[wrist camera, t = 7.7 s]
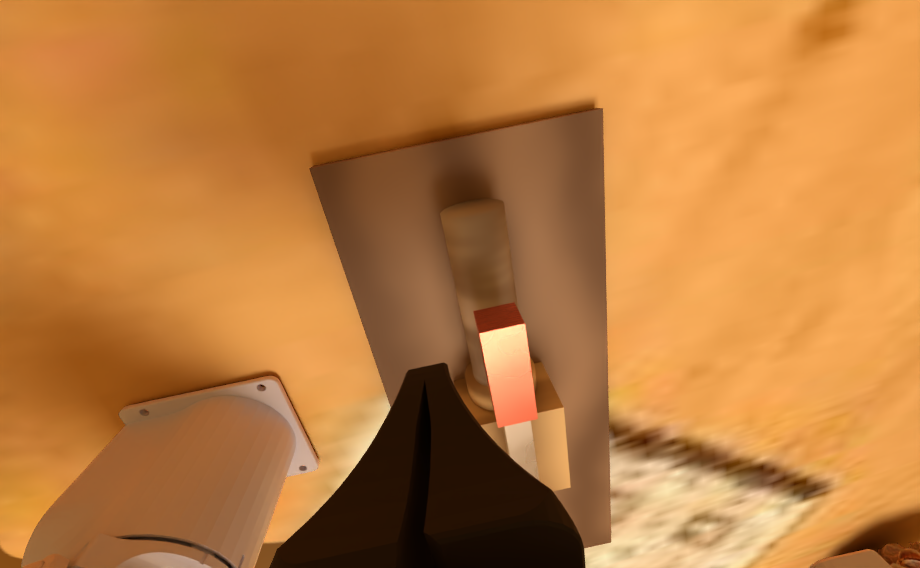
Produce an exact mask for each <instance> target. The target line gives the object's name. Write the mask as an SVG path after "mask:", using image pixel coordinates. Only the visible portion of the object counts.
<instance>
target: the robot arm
mask: <svg viewBox="0 0 920 568" xmlns="http://www.w3.org/2000/svg"><path fill="white" fill-rule="evenodd" d="M259 384H262V385H264V386H265V387H262V386H260V385H259ZM146 410H147V411H146ZM119 417H120V419H121V420H122V421H123V423H124V424H125V426H124V427H123V428H122V429H121V431H120V432H119V433H118V434H117V435H116V436H115V437H114V438H113V439H112V440H111V442H110V443H109V444H108V445H107V446H106V447H105V448H104V449H103V450H102V451H101V452H100V454H99V455H98V456H97V457H96V458H95V459H94V460H93V461H92V462H91V463H90V464H89V466H88V467H87V468H86V469H85V470H84V471H83V472H82V473H81V474H80V475H79V476H78V478H77V479H76V480H75V481H74V482H73V483H72V484H71V485H70V486H69V487H68V489H67V490H66V491H65V492H64V493H63V494H62V495H61V496H60V497H59V498H58V499H57V501H56V502H55V503H54V504H53V505H52V506H51V507H50V508H49V509H48V511H47V512H46V513H45V514H44V516H43V517H42V518H41V520H40V521H39V523H38V524H37V526H36V528H35V529H34V531H33V533H32V535H31V537H30V540H29V542H28V544H27V547H26V550H25V553H24V556H23V560H22V565H21V568H254V567H255V564H256V561H257V558H258V555H259V552H260V550H261V547H262V544H263V541H264V538H265V536H266V533H267V530H268V527H269V524H270V521H271V519H272V516H273V513H274V510H275V507H276V504H277V502H278V499H279V496H280V493H281V490H282V487H283V485H284V482H285V479H286V477H288V476H293V475H298V474H302V473H307V472H312V471H315V470H316V469H317V468H318V465H319V460H318V458H317V456H316V454H315V452H314V450H313V448H312V446H311V444H310V442H309V440H308V438H307V436H306V434H305V431H304V429H303V427H302V425H301V423H300V421H299V419H298V417H297V415H296V413H295V411H294V409H293V407H292V405H291V403H290V401H289V399H288V397H287V395H286V392H285V390H284V388H283V386H282V384H281V382H280V380H279V379H278V378H277V377H275V376H266V377H261V378H256V379H251V380H247V381H242V382H237V383H233V384H228V385H223V386H218V387H214V388H209V389H204V390H199V391H195V392H190V393H185V394H181V395H176V396H171V397H166V398H162V399H157V400H152V401H148V402H143V403H138V404H133V405H129V406H125V407H124V408H123V409H122V410H121V411H120V412H119ZM269 568H585V555H584V545H583V542H582V538H581V536H580V534H579V532H578V530H577V528H576V526H575V524H574V522H573V520H572V519H571V517H570V515H569V514H568V512H567V511H566V509H565V508H564V506H563V505H562V503H561V502H560V500H559V499H558V498H557V496H556V495H555V493H554V492H553V491H552V490H551V489H550V488H549V487H547V486H546V485H544V484H543V483H542V482H540V481H539V480H538V479H536V478H535V477H534V476H532V475H531V474H530V473H528V472H527V471H526V470H525V469H524V468H522V467H521V466H520V465H519V464H518V463H516V462H515V461H514V460H513V459H512V458H511V457H510V456H509V455H508V454H507V453H506V452H505V451H504V450H503V449H502V448H500V447H499V446H498V445H497V443H496V442H495V441H494V440H493V439H492V438H491V437H490V436H489V435H488V434H487V432H486V431H485V430H484V429H483V428H482V427H481V425H480V424H479V423H478V421H477V420H476V419H475V418H474V416H473V415H472V413H471V412H470V411H469V409H468V408H467V406H466V405H465V403H464V401H463V400H462V398H461V396H460V395H459V393H458V391H457V390H456V388H455V386H454V384H453V381H452V379H451V377H450V373H449V369H448V365H447V364H446V363H444V362H443V363H438V364H434V365H429V366H424V367H420V368H415V369H410V370H408V371H407V373H406V375H405V377H404V380H403V383H402V385H401V387H400V390H399V392H398V394H397V397H396V399H395V401H394V403H393V405H392V407H391V409H390V411H389V413H388V415H387V417H386V419H385V421H384V423H383V424H382V426H381V428H380V430H379V431H378V433H377V435H376V437H375V438H374V440H373V442H372V443H371V445H370V446H369V448H368V449H367V451H366V452H365V454H364V455H363V457H362V458H361V460H360V461H359V463H358V464H357V465H356V467H355V468H354V469H353V470H352V472H351V473H350V474H349V476H348V477H347V478H346V480H345V481H344V482H343V483H342V485H341V486H340V487H339V488H338V489H337V491H336V492H335V493H334V494H333V495H332V496H331V497H330V498H329V499H328V501H327V502H326V503H325V504H324V505H323V506H322V507H321V508H320V509H319V510H318V511H317V512H316V513H315V514H314V515H313V516H312V517H311V518H310V519H309V520H308V521H307V522H306V523H305V524H304V525H303V526H302V527H301V528H300V529H299V530H298V531H297V532H295V533H294V534H293V535H292V536H291V537H290V538H289V539H288V540H287V541H286V542H285V543H284V544H283V545H281V547H279V548H278V549H277V551H276V553H275V556H274V558H273V561H272V563H271V565H270V567H269ZM810 568H892V567H891V566H890V565H889V564H888V563H887V562H886V561H885V560H884V559H883V558H882V557H881V556H880V555H879V554H878V553H877V552H876V551H874V550H870V549H865V550H861V551H856V552H852V553H847V554H843V555H838V556H834V557H829V558H825V559H822V560H820V561H817V562H816V563H814V564H813V565H811V566H810Z"/></svg>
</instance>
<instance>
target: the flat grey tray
mask: <svg viewBox="0 0 920 568" xmlns="http://www.w3.org/2000/svg"><path fill="white" fill-rule="evenodd" d="M309 169H310V172H311V175H312V177H313V180H314V183H315V186H316V189H317V192H318V195H319V198H320V201H321V204H322V207H323V210H324V213H325V216H326V218H327V221H328V224H329V227H330V230H331V233H332V236H333V239H334V242H335V245H336V248H337V251H338V254H339V257H340V259H341V262H342V265H343V268H344V271H345V274H346V277H347V280H348V283H349V286H350V289H351V292H352V295H353V298H354V300H355V303H356V306H357V309H358V312H359V315H360V318H361V321H362V324H363V327H364V330H365V333H366V336H367V339H368V341H369V344H370V347H371V350H372V353H373V356H374V359H375V362H376V365H377V368H378V371H379V374H380V377H381V379H382V382H383V385H384V388H385V391H386V394H387V397H388V400H389V403H390V406H391V407H392V405H393V403H394V401H395V399H396V397H397V394H398V392H399V390H400V387H401V385H402V383H403V380H404V377H405V375H406V373H407V371H408V370H410V369H415V368H420V367H424V366H429V365H434V364H438V363H443V362H444V363H446V364H447V365H448V369H449V373H450V377H451V379H452V381H453V384H454V386H455V388H456V390H457V391H458V393H459V395H460V396H461V398H462V400H463V401H464V403H465V405H466V406H467V408H468V409H469V411H470V412H471V413H472V415H473V416H474V418H475V419H476V420H477V421H478V423H479V424H480V425H481V427H482V428H483V429H484V430H485V431H486V432H487V434H488V435H489V436H490V437H491V438H492V439H493V440H494V441H495V442H496V443H497V445H498V446H499V447H500V448H502V449H503V450H504V451H505V452H506V453H507V454H508V452H507V447H506V442H505V436H504V431H503V427H500V428H498V426H497V422H496V418H495V414H494V410H493V406H492V402H491V398H490V393H489V388H488V383H487V378H486V373H485V368H484V363H483V358H482V353H481V348H480V343H479V338H478V333H477V328H476V323H475V318H474V313H473V311H476V310H480V309H485V308H490V307H494V306H499V305H503V304H508V303H513V302H515V304H516V306H517V308H518V310H519V312H520V314H521V316H522V318H523V320H524V322H525V327H526V334H527V342H528V349H529V356H530V364H531V371H532V379H533V386H534V393H535V401H536V408H537V416H538V419H536V420H532V421H531V427H532V433H533V440H534V447H535V454H536V461H537V467H538V474H539V481H540V482H542V483H543V484H544V485H546V486H547V487H549V488H550V489H551V490H552V491H553V492H554V493H555V495H556V496H557V498H558V499H559V500H560V502H561V503H562V505H563V506H564V508H565V509H566V511H567V512H568V514H569V515H570V517H571V519H572V520H573V522H574V524H575V526H576V528H577V530H578V532H579V534H580V536H581V538H582V542H583V545H584V548H587V547H592V546H596V545H601V544H605V543H610V542H611V510H610V458H609V406H608V354H607V301H606V249H605V197H604V145H603V108H595V109H590V110H586V111H581V112H576V113H571V114H566V115H561V116H556V117H551V118H546V119H541V120H536V121H532V122H527V123H522V124H517V125H512V126H507V127H502V128H497V129H492V130H487V131H483V132H478V133H473V134H468V135H463V136H458V137H453V138H448V139H443V140H438V141H433V142H429V143H424V144H419V145H414V146H409V147H404V148H399V149H394V150H389V151H384V152H380V153H375V154H370V155H365V156H360V157H355V158H350V159H345V160H340V161H335V162H330V163H326V164H321V165H316V166H313V167H311V168H309Z"/></svg>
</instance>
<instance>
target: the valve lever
mask: <svg viewBox="0 0 920 568" xmlns="http://www.w3.org/2000/svg"><path fill="white" fill-rule="evenodd" d="M473 313H474V318H475V323H476V328H477V333H478V338H479V343H480V348H481V353H482V358H483V363H484V368H485V373H486V378H487V383H488V388H489V393H490V398H491V402H492V406H493V410H494V414H495V418H496V422H497V426H498V428H500V427H503V431H504V436H505V442H506V447H507V452H508V455H509V456H510V457H511V458H512V459H513V460H514V461H515V462H516V463H518V464H519V465H520V466H521V467H522V468H524V469H525V470H526V471H527V472H528V473H530V474H531V475H532V476H534V477H535V478H536V479H538V480H539V474H538V467H537V461H536V454H535V447H534V440H533V433H532V427H531V421H532V420H536V419H538V416H537V408H536V401H535V393H534V386H533V379H532V371H531V364H530V356H529V349H528V342H527V334H526V327H525V322H524V320H523V318H522V316H521V314H520V312H519V310H518V308H517V306H516V304H515V302H513V303H508V304H503V305H499V306H494V307H490V308H485V309H480V310H476V311H473Z"/></svg>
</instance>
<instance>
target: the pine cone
mask: <svg viewBox="0 0 920 568" xmlns="http://www.w3.org/2000/svg"><path fill="white" fill-rule="evenodd" d="M909 543H910V545H911V547H910V548H909V547H908V548H906V549H905V548H904V547H902V546H901V545H899V544H898V543H895V544H886V545H885V546H884V547H883V548H882V549H878V552H877V553H878V554H879V555H880V556H881V557H882V558H883V559H884V560H885V561H886V562H887V563H888V564H889V565H890V566H891V567H892V568H920V543H918V542H917V541H916V542H915V543H914V544H913V543H911V542H909Z"/></svg>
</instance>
